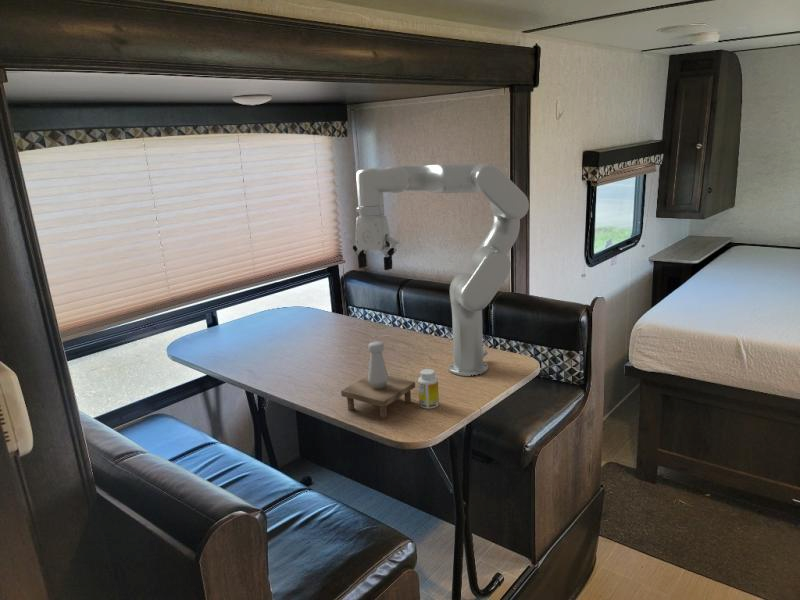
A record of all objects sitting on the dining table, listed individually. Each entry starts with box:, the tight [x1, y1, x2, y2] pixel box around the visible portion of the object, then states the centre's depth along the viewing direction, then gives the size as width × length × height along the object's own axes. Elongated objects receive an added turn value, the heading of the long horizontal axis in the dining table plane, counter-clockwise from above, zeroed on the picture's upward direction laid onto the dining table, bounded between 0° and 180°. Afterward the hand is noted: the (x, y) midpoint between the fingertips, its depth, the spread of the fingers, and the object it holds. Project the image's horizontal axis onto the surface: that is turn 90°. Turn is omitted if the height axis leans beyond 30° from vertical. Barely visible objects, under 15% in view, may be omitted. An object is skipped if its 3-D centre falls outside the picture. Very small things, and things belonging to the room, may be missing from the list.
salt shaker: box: [367, 341, 389, 389], centre depth 161 cm, size 6×6×13 cm
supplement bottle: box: [417, 368, 440, 410], centre depth 161 cm, size 6×6×10 cm
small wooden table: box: [340, 375, 416, 421], centre depth 163 cm, size 15×15×6 cm
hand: (375, 268), depth 173 cm, fingers open, 9 cm apart
